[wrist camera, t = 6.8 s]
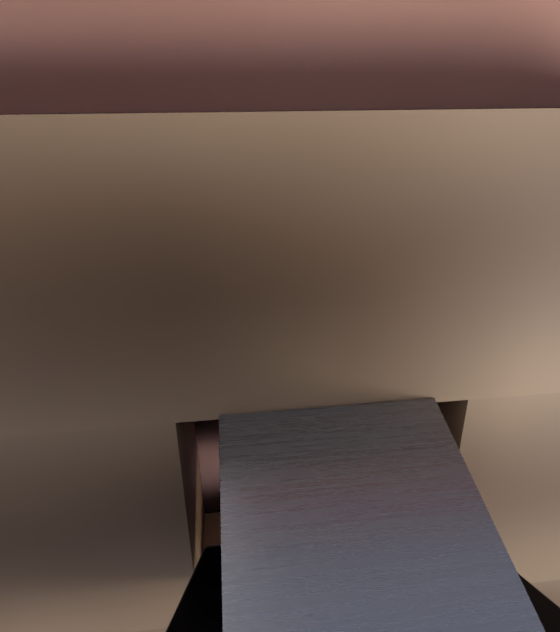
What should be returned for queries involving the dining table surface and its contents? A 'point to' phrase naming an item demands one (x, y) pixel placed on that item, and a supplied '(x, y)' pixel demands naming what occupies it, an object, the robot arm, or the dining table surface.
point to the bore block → (259, 324)
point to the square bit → (359, 526)
